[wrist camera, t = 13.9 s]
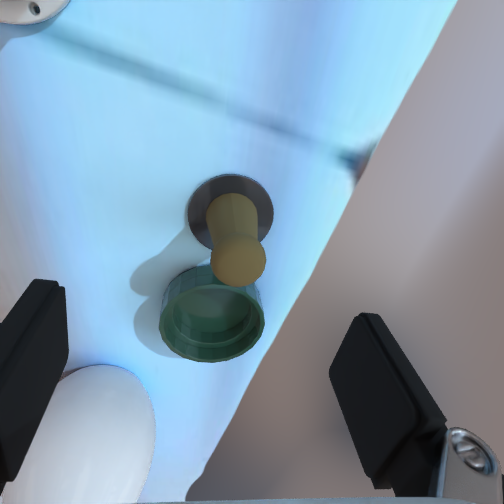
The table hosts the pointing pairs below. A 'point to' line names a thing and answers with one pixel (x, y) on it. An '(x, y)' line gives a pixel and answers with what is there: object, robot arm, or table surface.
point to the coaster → (225, 186)
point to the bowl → (210, 317)
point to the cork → (235, 240)
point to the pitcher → (89, 442)
